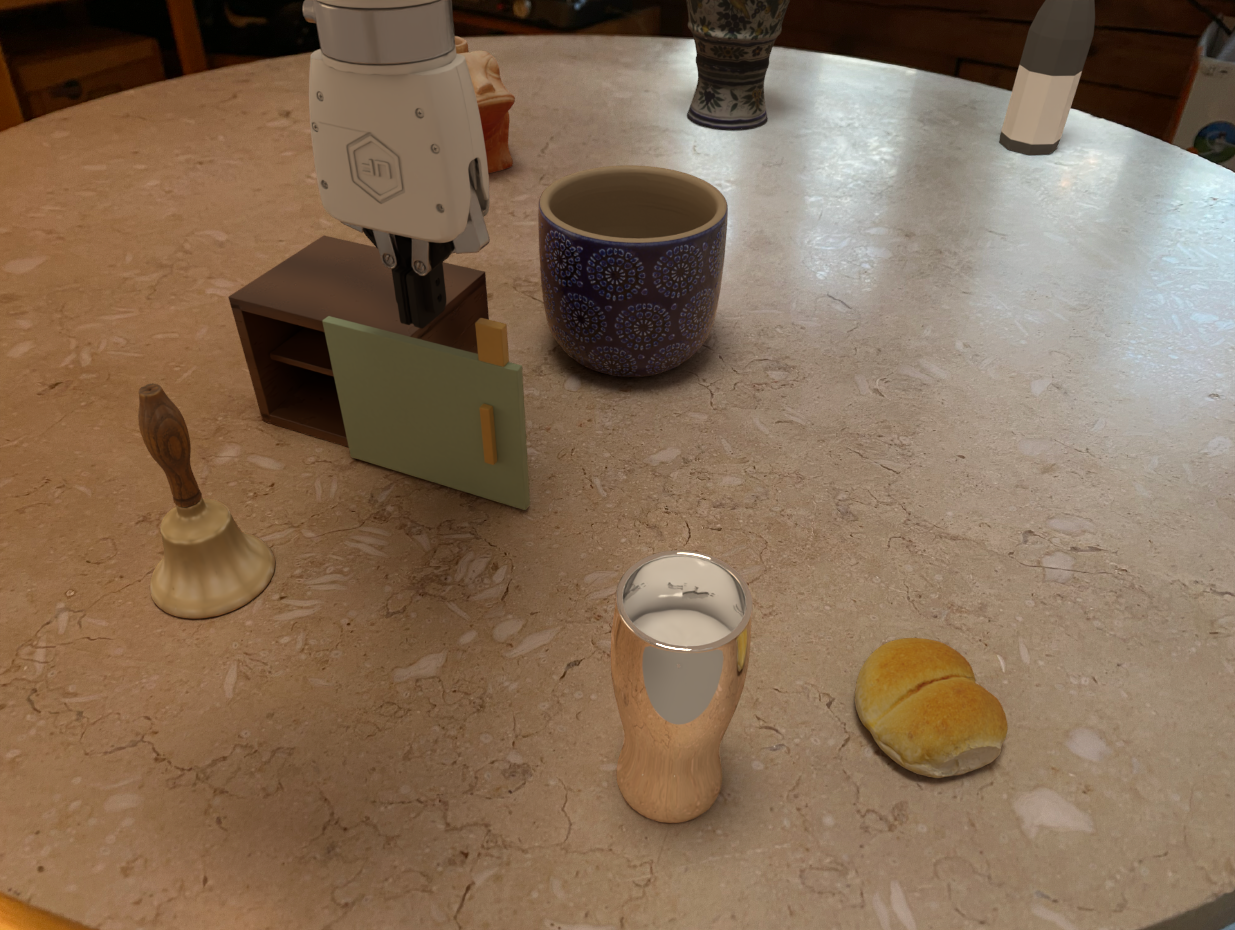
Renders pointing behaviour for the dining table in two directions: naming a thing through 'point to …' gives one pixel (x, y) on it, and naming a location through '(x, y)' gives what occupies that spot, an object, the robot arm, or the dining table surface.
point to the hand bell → (197, 528)
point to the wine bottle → (1048, 76)
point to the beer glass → (677, 678)
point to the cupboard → (341, 288)
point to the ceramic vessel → (490, 104)
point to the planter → (631, 266)
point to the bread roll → (929, 708)
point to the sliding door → (434, 407)
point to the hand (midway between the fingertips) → (423, 316)
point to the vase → (732, 60)
